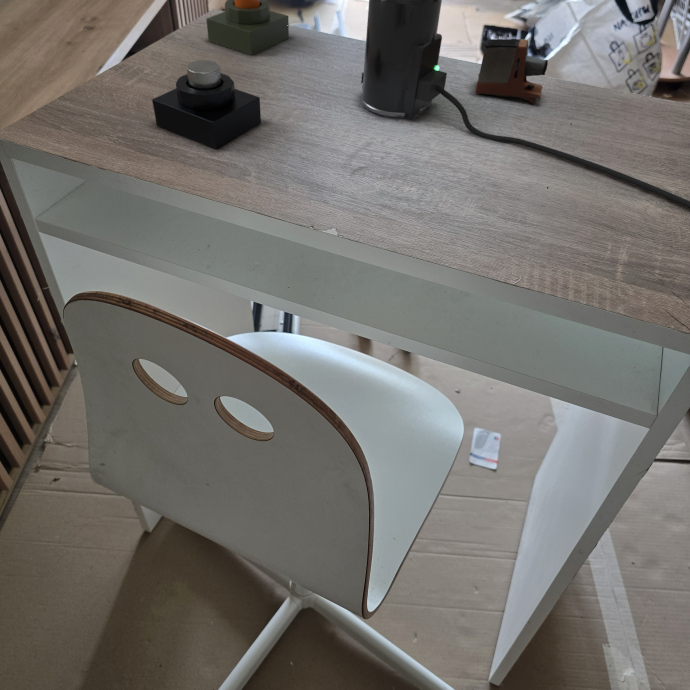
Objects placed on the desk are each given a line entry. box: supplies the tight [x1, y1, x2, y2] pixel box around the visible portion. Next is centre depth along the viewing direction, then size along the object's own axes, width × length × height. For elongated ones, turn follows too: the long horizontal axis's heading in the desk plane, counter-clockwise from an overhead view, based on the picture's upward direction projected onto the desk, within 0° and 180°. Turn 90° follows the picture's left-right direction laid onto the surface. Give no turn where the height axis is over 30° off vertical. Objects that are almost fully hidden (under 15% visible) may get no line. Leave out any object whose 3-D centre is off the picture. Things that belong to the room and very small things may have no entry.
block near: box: [151, 72, 262, 150], centre depth 77 cm, size 10×9×6 cm
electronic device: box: [475, 38, 549, 105], centre depth 88 cm, size 4×10×8 cm, turn 74°
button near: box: [186, 59, 221, 91], centre depth 74 cm, size 4×4×2 cm
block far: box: [205, 0, 290, 56], centre depth 98 cm, size 10×9×6 cm
